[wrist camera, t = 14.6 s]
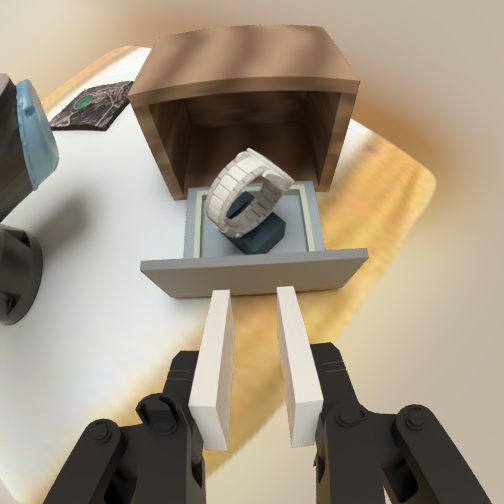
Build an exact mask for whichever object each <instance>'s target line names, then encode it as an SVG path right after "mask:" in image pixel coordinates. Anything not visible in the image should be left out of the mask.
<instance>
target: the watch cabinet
mask: <svg viewBox="0 0 504 504" xmlns="http://www.w3.org/2000/svg"><path fill="white" fill-rule="evenodd" d="M359 84H360V79H359V78H358V76H357V75H356V73H355V72H354V70H353V69H352V67H351V66H350V64H349V63H348V61H347V60H346V58H345V57H344V55H343V54H342V52H341V51H340V50H339V49H338V47H337V46H336V44H335V43H334V41H333V40H332V39H331V38H330V36H329V35H328V34H327V32H326V31H325V30H324V28H323V27H317V26H301V25H248V26H234V27H221V28H213V29H204V30H198V31H191V32H185V33H180V34H174V35H169V36H164V37H159V39H158V41H157V42H156V43H155V45H154V47H153V48H152V50H151V52H150V54H149V55H148V57H147V59H146V61H145V62H144V64H143V66H142V68H141V70H140V72H139V74H138V75H137V77H136V79H135V81H134V83H133V85H132V87H131V89H130V91H129V93H128V95H127V96H128V99H129V101H130V103H131V106H132V108H133V111H134V113H135V115H136V118H137V120H138V122H139V125H140V127H141V129H142V132H143V134H144V136H145V138H146V141H147V143H148V145H149V147H150V150H151V152H152V154H153V156H154V159H155V161H156V163H157V165H158V167H159V170H160V172H161V174H162V176H163V178H164V180H165V182H166V185H167V187H168V189H169V191H170V193H171V195H172V197H173V199H174V200H183V199H188V189H189V188H199V187H210V186H212V184H213V182H214V181H215V179H216V178H217V177H218V175H219V174H220V172H221V171H222V170H223V169H224V168H225V167H226V166H227V165H228V164H229V163H230V162H231V161H233V160H234V159H235V158H236V157H237V155H238V154H239V153H241V152H244V151H246V152H247V149H248V148H250V149H252V150H254V151H256V152H258V153H260V154H261V155H263V156H264V157H266V158H267V159H269V160H270V161H271V162H273V163H274V164H275V165H277V166H278V167H279V168H281V169H282V170H283V171H284V172H286V173H287V174H288V175H289V176H290V177H291V178H292V179H293V180H294V181H313V186H314V191H329V189H330V185H331V182H332V179H333V176H334V173H335V169H336V166H337V163H338V160H339V156H340V153H341V150H342V146H343V143H344V139H345V136H346V132H347V129H348V125H349V122H350V118H351V114H352V111H353V107H354V103H355V100H356V96H357V92H358V88H359ZM230 177H231V176H230ZM219 179H220V178H219ZM220 180H221V179H220ZM234 180H235V179H234ZM263 182H264V179H263V178H261V177H260V176H258V177H255V179H254V180H253V181H251V182H250V183H249V184H251V183H263ZM238 183H239V182H238ZM220 185H221V184H220Z"/></svg>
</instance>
